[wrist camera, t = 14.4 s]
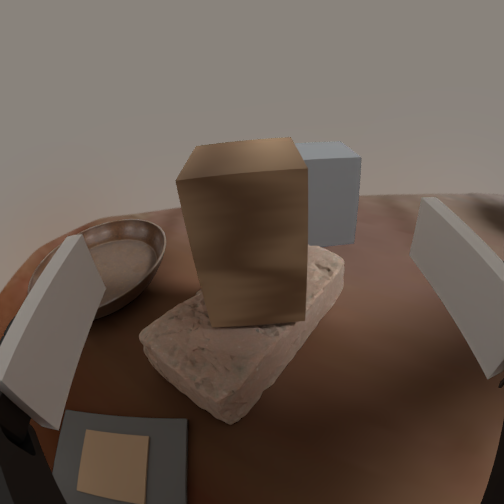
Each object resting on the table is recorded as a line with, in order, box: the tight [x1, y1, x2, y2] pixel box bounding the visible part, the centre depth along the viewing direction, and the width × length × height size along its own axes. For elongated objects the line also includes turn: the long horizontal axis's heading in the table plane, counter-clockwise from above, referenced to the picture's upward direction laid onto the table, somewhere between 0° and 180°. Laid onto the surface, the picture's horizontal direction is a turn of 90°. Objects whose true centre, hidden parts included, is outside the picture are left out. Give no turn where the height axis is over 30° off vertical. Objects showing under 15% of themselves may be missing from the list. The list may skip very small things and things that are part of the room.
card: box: [52, 410, 188, 504], centre depth 14 cm, size 10×8×1 cm
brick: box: [139, 245, 345, 425], centre depth 23 cm, size 16×8×5 cm, turn 142°
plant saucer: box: [28, 219, 166, 319], centre depth 30 cm, size 18×18×3 cm
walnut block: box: [176, 137, 308, 327], centre depth 18 cm, size 6×6×10 cm
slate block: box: [295, 142, 361, 247], centre depth 32 cm, size 6×6×10 cm
